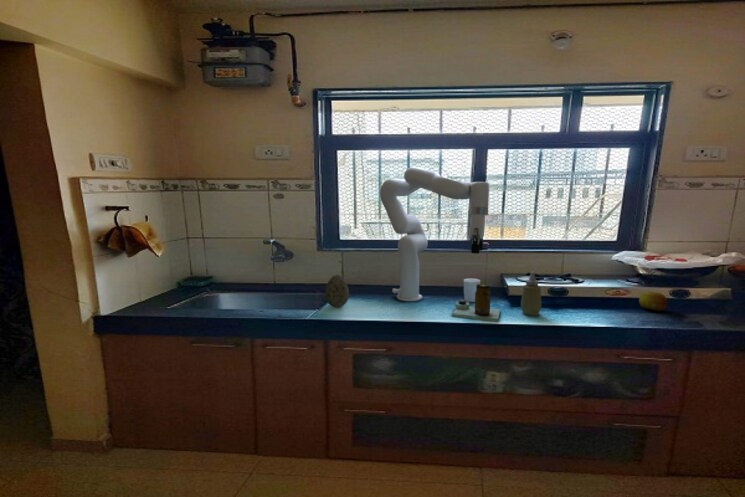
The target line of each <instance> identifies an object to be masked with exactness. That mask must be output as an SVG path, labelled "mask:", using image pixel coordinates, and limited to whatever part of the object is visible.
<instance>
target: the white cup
mask: <svg viewBox="0 0 745 497" xmlns="http://www.w3.org/2000/svg"><path fill="white" fill-rule="evenodd" d="M462 281H463V298H464V299H463V300H466V302H467V303H475V292H476V287H477V284H481V279H479V278H474V277H473V278H472V277H470V278H464V279H463V280H462Z"/></svg>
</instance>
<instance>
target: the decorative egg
mask: <svg viewBox="0 0 745 497" xmlns="http://www.w3.org/2000/svg"><path fill="white" fill-rule="evenodd" d="M324 295H325V301H326V302H327V303H328V305H330V306H331V307H333V308H336V309H338V308H342V307H343V306H345V305H346V304H347V302H348V300H349V298H350V290H349V286H348V284H347V282H346V280H345V279H344V278H343V277H342V276H341V275H339V274H335V275H332V277H330V279H329V280H328V282H327V283H326V286H325V291H324Z"/></svg>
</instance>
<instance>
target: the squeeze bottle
mask: <svg viewBox="0 0 745 497" xmlns="http://www.w3.org/2000/svg"><path fill="white" fill-rule="evenodd" d="M541 290H542V289H541V286H540V285H539V280H537V279H536V275H535V272H534V271H530V274H529V277H528V279H526V280H525V284H524V285H523V288H522V292H521V293H522V294H521V300H520V307H521V311H522V314H523V315H526V316H534V317H535V316H538V315H539V314H540V311H541V309H542V307H543V306H542V291H541Z"/></svg>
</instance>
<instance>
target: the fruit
mask: <svg viewBox="0 0 745 497" xmlns="http://www.w3.org/2000/svg"><path fill="white" fill-rule="evenodd" d="M638 303H639V305H640V307H641V308H642V309H645V310H651V311H656V312H657V311H659V312H661V311H664V310H666V309H667V307H668V299H667V296H666V295H665V294H663V293H661V292H655V291H643V292H642V293H641V294H640V295H639V298H638Z"/></svg>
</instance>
